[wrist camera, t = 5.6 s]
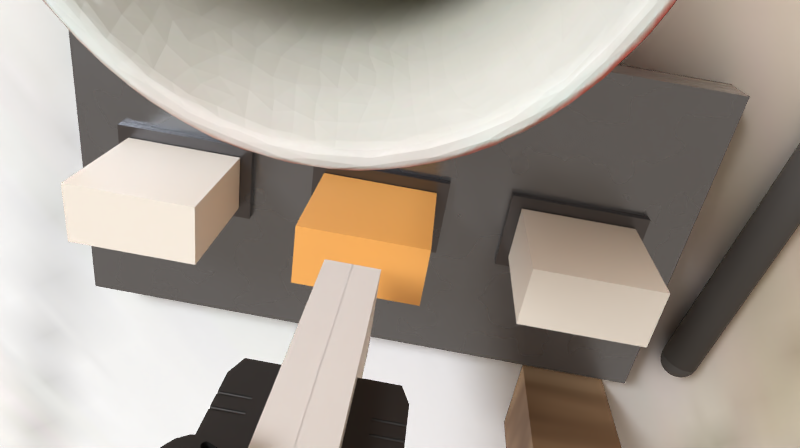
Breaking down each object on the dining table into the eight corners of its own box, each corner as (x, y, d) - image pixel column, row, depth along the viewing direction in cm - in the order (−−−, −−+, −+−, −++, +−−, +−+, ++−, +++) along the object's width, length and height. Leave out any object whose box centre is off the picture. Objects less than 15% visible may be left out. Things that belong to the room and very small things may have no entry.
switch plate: (89, -29, 20) (57, -24, 19) (730, 84, 20) (753, 99, 19) (114, 266, 26) (91, 289, 24) (616, 358, 26) (626, 388, 24)
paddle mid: (324, 173, 21) (295, 225, 17) (436, 193, 21) (431, 250, 17) (319, 222, 22) (290, 282, 18) (426, 242, 22) (419, 306, 18)
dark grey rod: (871, 17, 19) (900, 24, 18) (912, 31, 19) (944, 39, 18) (650, 356, 25) (659, 378, 24) (680, 365, 26) (692, 388, 24)
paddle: (128, 137, 21) (60, 183, 18) (240, 157, 21) (194, 207, 18) (131, 188, 22) (67, 241, 19) (238, 208, 22) (195, 265, 18)
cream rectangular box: (521, 208, 21) (533, 268, 17) (635, 228, 21) (670, 293, 17) (508, 257, 22) (516, 323, 18) (617, 276, 22) (646, 347, 18)
